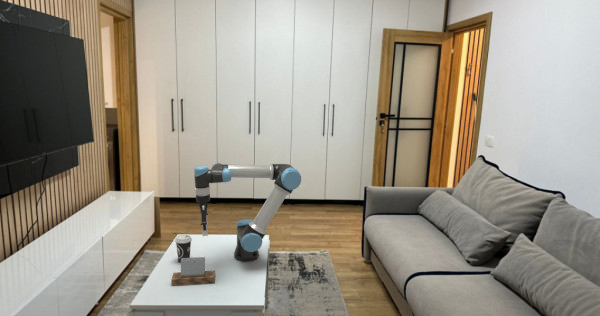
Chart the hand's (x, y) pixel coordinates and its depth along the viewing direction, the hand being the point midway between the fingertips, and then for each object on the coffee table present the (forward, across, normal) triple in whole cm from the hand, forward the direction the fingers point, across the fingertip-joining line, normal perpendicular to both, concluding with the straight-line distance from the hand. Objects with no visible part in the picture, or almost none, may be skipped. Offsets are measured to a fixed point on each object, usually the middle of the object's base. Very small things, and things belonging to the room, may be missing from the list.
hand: (205, 231), depth 223 cm
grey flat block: (+23, +11, -8) cm, 26 cm away
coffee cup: (+23, -15, -14) cm, 31 cm away
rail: (+23, +11, -7) cm, 27 cm away
